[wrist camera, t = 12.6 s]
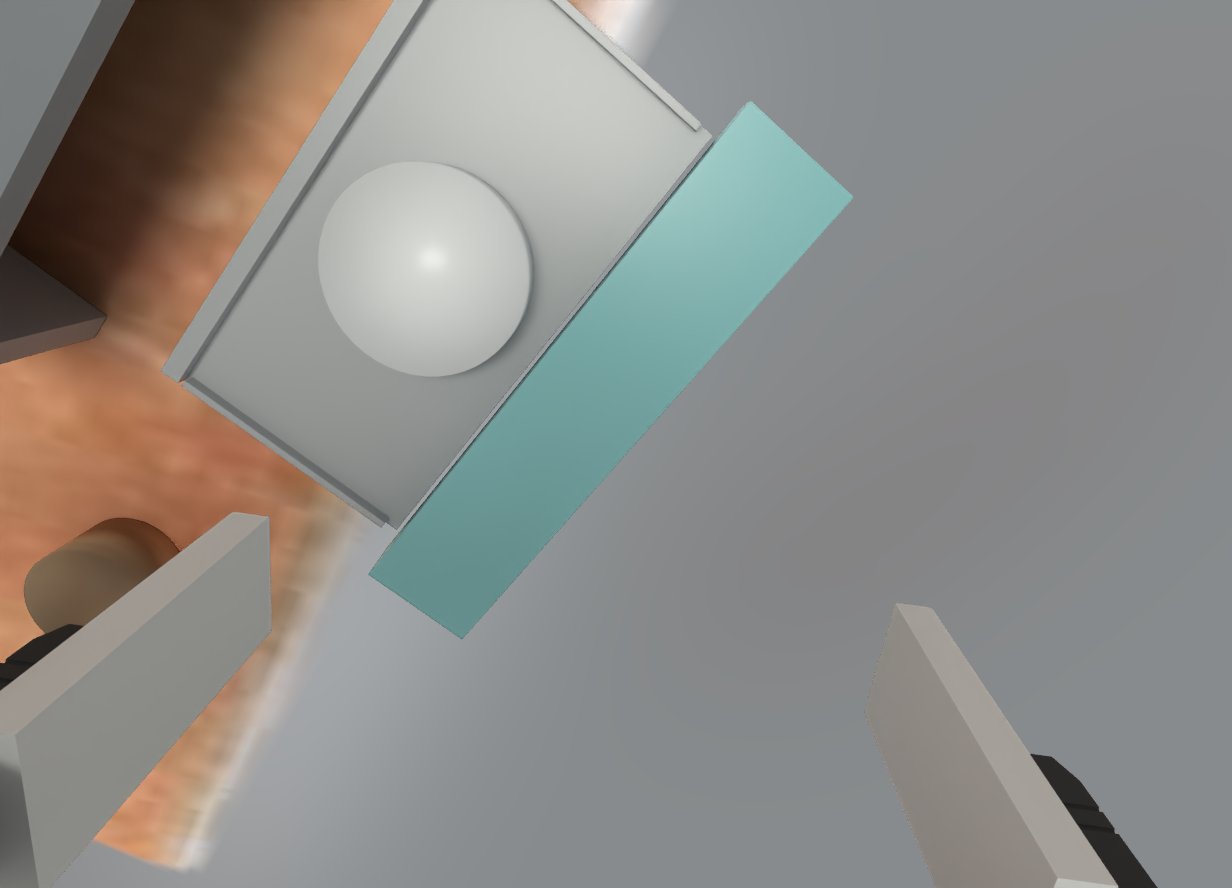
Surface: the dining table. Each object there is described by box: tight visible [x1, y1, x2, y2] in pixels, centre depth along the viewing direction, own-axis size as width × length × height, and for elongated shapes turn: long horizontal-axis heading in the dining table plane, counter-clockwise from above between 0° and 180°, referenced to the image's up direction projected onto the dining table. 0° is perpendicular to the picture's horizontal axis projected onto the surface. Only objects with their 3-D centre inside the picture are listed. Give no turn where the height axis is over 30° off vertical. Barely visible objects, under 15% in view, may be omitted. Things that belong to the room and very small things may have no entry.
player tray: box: [161, 0, 853, 639], centre depth 30 cm, size 17×24×3 cm
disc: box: [318, 161, 534, 377], centre depth 29 cm, size 8×8×2 cm
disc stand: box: [24, 518, 179, 633], centre depth 34 cm, size 5×5×4 cm
